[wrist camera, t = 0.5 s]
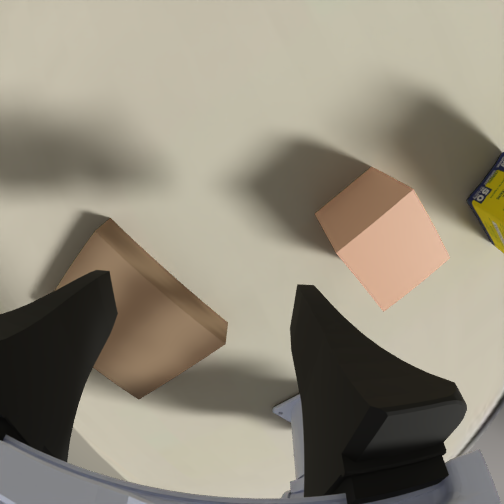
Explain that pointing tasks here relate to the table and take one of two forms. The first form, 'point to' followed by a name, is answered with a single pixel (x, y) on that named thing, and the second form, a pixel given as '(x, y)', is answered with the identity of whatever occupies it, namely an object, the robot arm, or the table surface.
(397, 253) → the terracotta block
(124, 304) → the walnut block
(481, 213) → the supplement box
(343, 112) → the table surface
